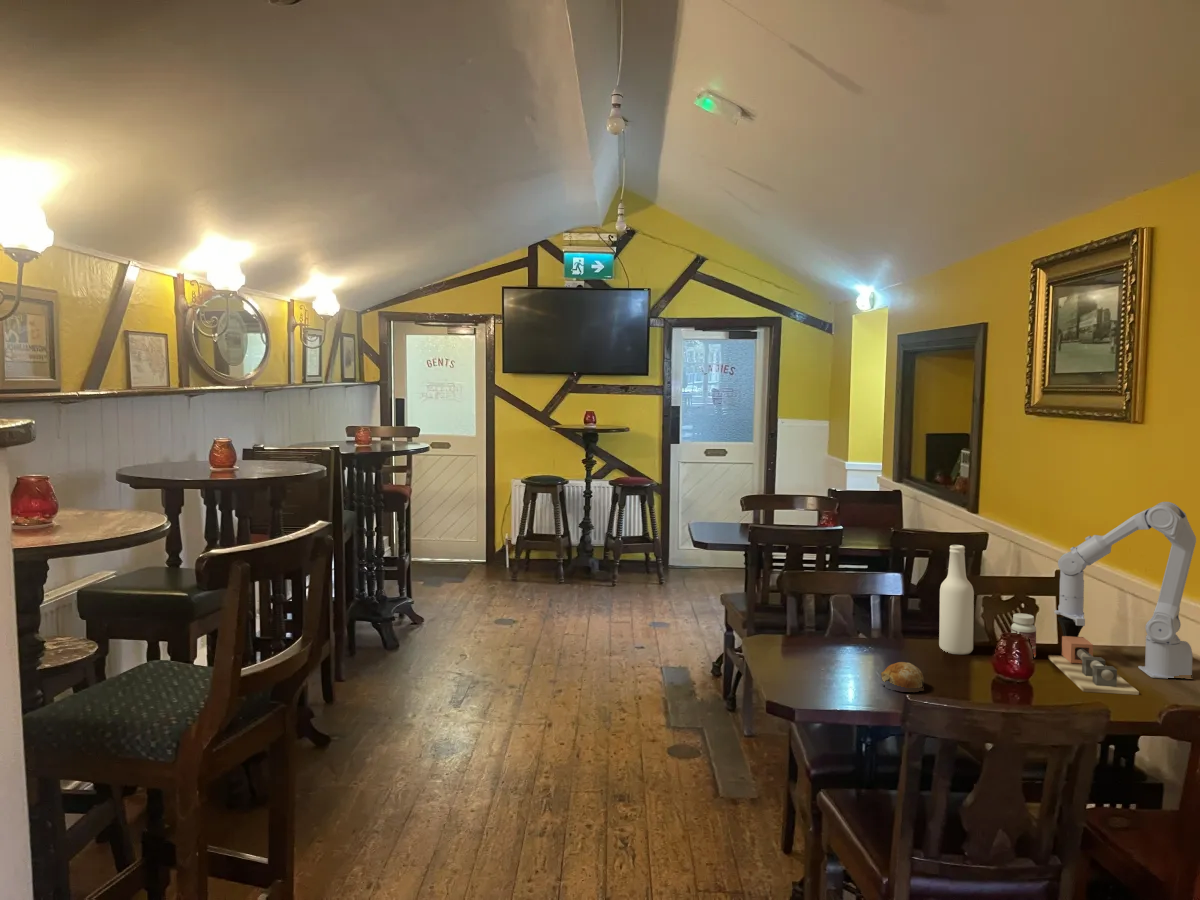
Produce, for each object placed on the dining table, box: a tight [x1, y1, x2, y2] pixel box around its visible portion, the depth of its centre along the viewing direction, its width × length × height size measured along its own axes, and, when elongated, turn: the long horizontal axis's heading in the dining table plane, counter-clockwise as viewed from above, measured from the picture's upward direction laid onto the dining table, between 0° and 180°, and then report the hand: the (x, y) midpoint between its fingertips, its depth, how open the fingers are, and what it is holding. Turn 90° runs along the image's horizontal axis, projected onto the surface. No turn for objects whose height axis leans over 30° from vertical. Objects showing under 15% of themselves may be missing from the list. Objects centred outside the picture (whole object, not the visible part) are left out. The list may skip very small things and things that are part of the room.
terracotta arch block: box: [1061, 635, 1094, 663], centre depth 215 cm, size 7×5×5 cm
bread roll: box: [880, 661, 925, 688], centre depth 200 cm, size 10×10×8 cm
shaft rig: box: [1047, 647, 1140, 696], centre depth 206 cm, size 26×12×5 cm, turn 168°
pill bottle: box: [1010, 612, 1037, 658], centre depth 222 cm, size 6×6×11 cm
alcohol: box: [938, 544, 975, 656], centre depth 227 cm, size 9×9×30 cm
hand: (1070, 644), depth 220 cm, fingers closed
